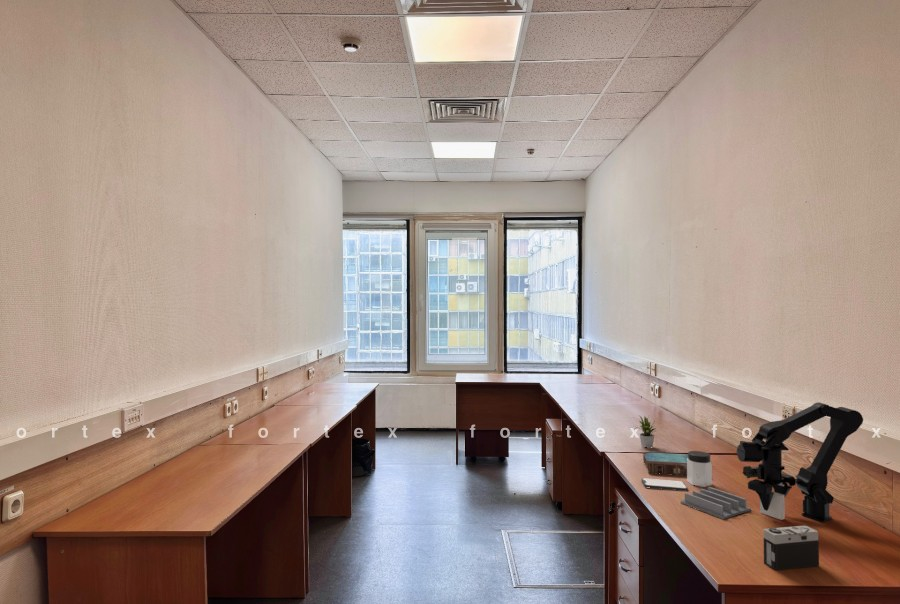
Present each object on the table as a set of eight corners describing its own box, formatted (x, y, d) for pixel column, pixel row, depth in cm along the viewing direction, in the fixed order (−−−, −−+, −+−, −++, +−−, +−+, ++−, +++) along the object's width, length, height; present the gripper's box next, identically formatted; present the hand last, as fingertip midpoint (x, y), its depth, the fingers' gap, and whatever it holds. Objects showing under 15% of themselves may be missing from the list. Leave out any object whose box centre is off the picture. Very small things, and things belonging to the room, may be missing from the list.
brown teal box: (648, 474, 214) (648, 463, 214) (641, 462, 232) (641, 451, 232) (706, 478, 209) (706, 466, 210) (695, 465, 227) (695, 454, 227)
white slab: (784, 518, 169) (784, 494, 169) (781, 520, 168) (781, 496, 168) (763, 511, 175) (763, 488, 175) (759, 512, 174) (759, 489, 174)
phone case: (682, 485, 203) (640, 481, 206) (682, 481, 203) (640, 477, 206) (688, 493, 194) (645, 489, 197) (688, 488, 194) (645, 485, 197)
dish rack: (750, 510, 175) (750, 499, 176) (722, 519, 168) (722, 508, 168) (708, 495, 190) (708, 485, 190) (680, 503, 182) (680, 492, 182)
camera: (795, 552, 145) (794, 517, 145) (820, 567, 137) (820, 530, 137) (752, 556, 143) (752, 521, 143) (775, 571, 135) (775, 534, 135)
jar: (686, 484, 201) (686, 454, 201) (687, 478, 208) (687, 449, 208) (711, 488, 197) (711, 457, 197) (712, 482, 204) (711, 452, 204)
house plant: (624, 443, 261) (624, 412, 262) (646, 441, 266) (646, 410, 266) (642, 451, 248) (642, 418, 248) (665, 449, 252) (665, 416, 252)
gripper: (763, 452, 183) (763, 495, 183) (732, 459, 174) (732, 505, 174) (796, 460, 173) (796, 506, 173) (765, 468, 164) (765, 516, 164)
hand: (772, 508), depth 171 cm, fingers open, 7 cm apart
